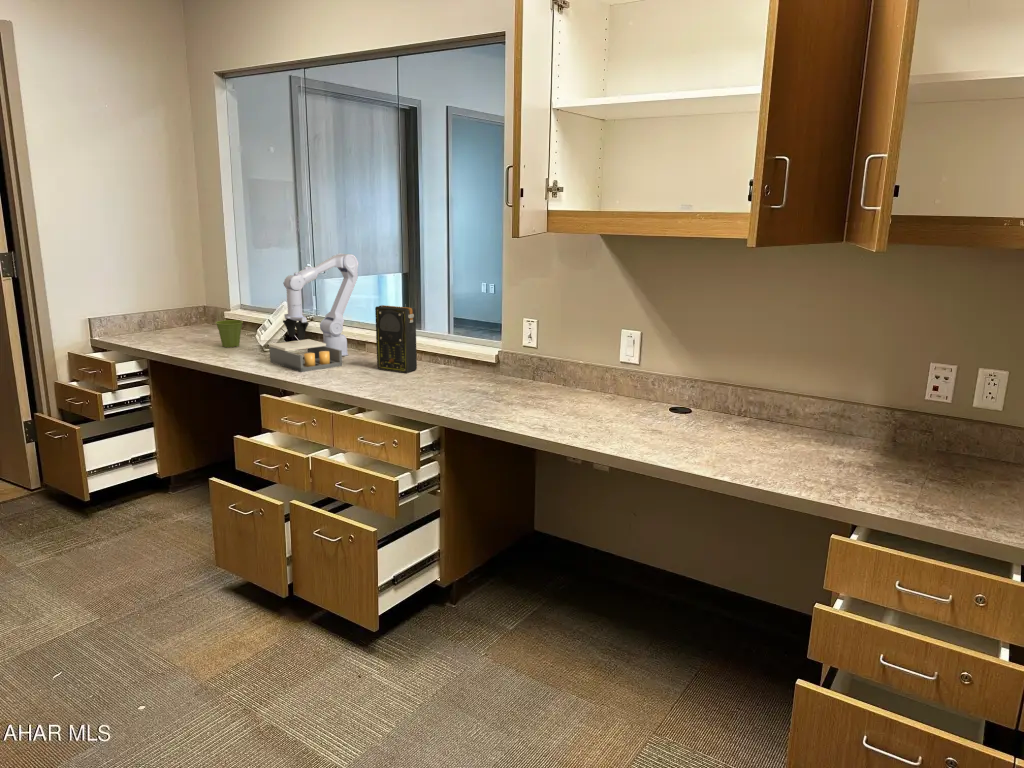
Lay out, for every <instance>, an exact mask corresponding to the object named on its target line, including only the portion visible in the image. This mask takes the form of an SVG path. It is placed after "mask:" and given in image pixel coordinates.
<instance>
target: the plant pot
mask: <svg viewBox="0 0 1024 768" xmlns="http://www.w3.org/2000/svg"><path fill="white" fill-rule="evenodd" d="M243 323H244V321H243V320H239V319H238V320H237V319H230V320H229V319H227V320H220V321H215V323H214V324H216V326H217V329H218V333H219V337H220V341H221V345H222V347H223V346H224V348H227V347H228V348H230V347H232V348H237V346H238V347H239V346H240V342H241V333H242V332H241V331H242V327H243ZM235 346H236V347H235Z"/></svg>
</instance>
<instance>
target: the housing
mask: <svg viewBox="0 0 1024 768" xmlns="http://www.w3.org/2000/svg"><path fill="white" fill-rule="evenodd" d="M268 348H269V349H268V350H269V359H270V360H269V362H270V363H272V364H275V365H278V366H281V367H285V368H288V369H291V370H294V371H297V372H300V373H304V372H311V371H316V370H325V369H331V368H336V367H342V366H343V356H342V350H338V349H334V348H330V347H327V346H321V347H314V348H307V353H315V366H310V367H306V366H305V360H304V359H303V358H304V355H303V354H302V355H301V354H298V353H294V352H291V351H283V350H280V349H276V348H273V347H270V346H268ZM320 351H329V353H330V364H324V365H321V364H320V360H319V352H320Z"/></svg>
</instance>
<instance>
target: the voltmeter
mask: <svg viewBox="0 0 1024 768" xmlns="http://www.w3.org/2000/svg"><path fill="white" fill-rule="evenodd" d="M416 310H417V309H416V308H414V307H406V306H405V307H404V306H394V305H383V304H381V305H379V306H375V310H374V311H375V312H374V313H375V340H376V345H375V346H376V366H377V367H376V368H377V369H378V370H382V371H388V372H393V373H394V372H396V373H402V374H408V373H410V372H413V371H416V370H417V368H418V364H417V363H418V362H417V361H418V358H417V354H418V353H417V321H416V320H417V319H416V317H417V311H416Z"/></svg>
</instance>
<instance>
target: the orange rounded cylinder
mask: <svg viewBox="0 0 1024 768" xmlns="http://www.w3.org/2000/svg"><path fill="white" fill-rule="evenodd" d="M303 358H304V359H303V360H305V366H306V367H310V366H315V353H308V352H305V353H303Z"/></svg>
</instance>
